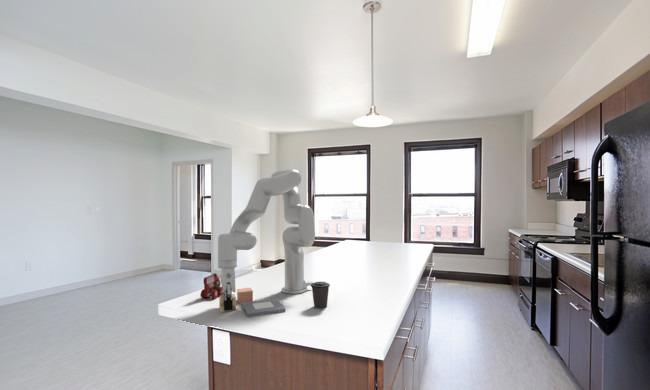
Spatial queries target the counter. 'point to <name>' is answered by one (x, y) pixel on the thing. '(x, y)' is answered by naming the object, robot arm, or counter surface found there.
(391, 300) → the counter surface
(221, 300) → the oak brick
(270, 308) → the baseplate
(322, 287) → the coffee cup
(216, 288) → the toy fire truck
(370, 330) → the counter surface
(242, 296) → the terracotta brick
